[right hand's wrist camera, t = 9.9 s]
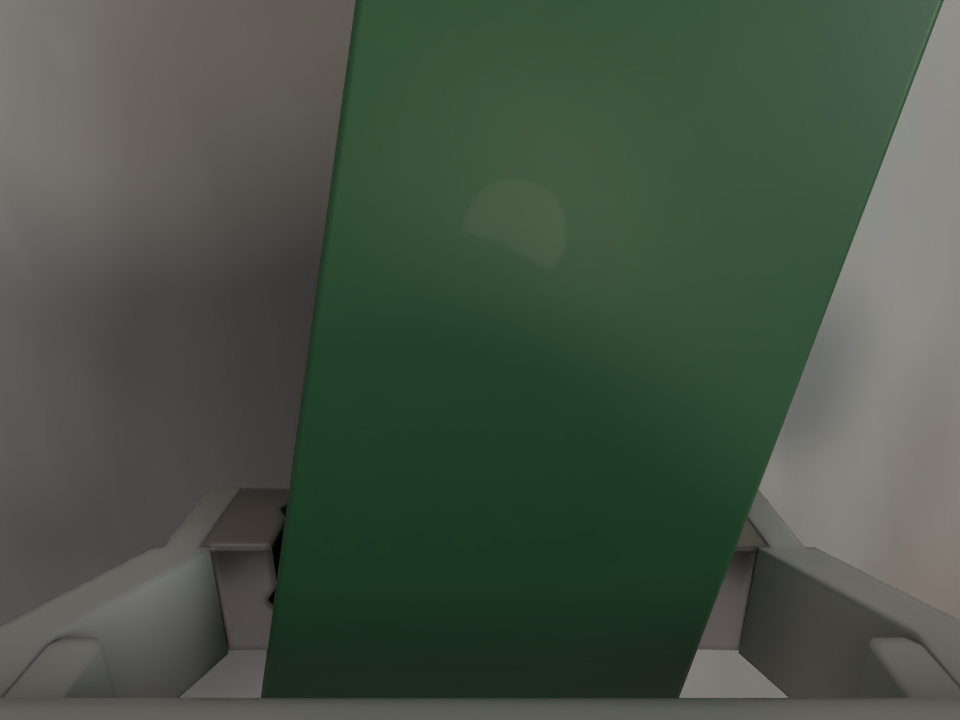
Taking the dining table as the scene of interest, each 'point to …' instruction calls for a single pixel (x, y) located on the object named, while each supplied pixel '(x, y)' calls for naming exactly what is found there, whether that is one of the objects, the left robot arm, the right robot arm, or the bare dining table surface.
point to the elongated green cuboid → (564, 329)
